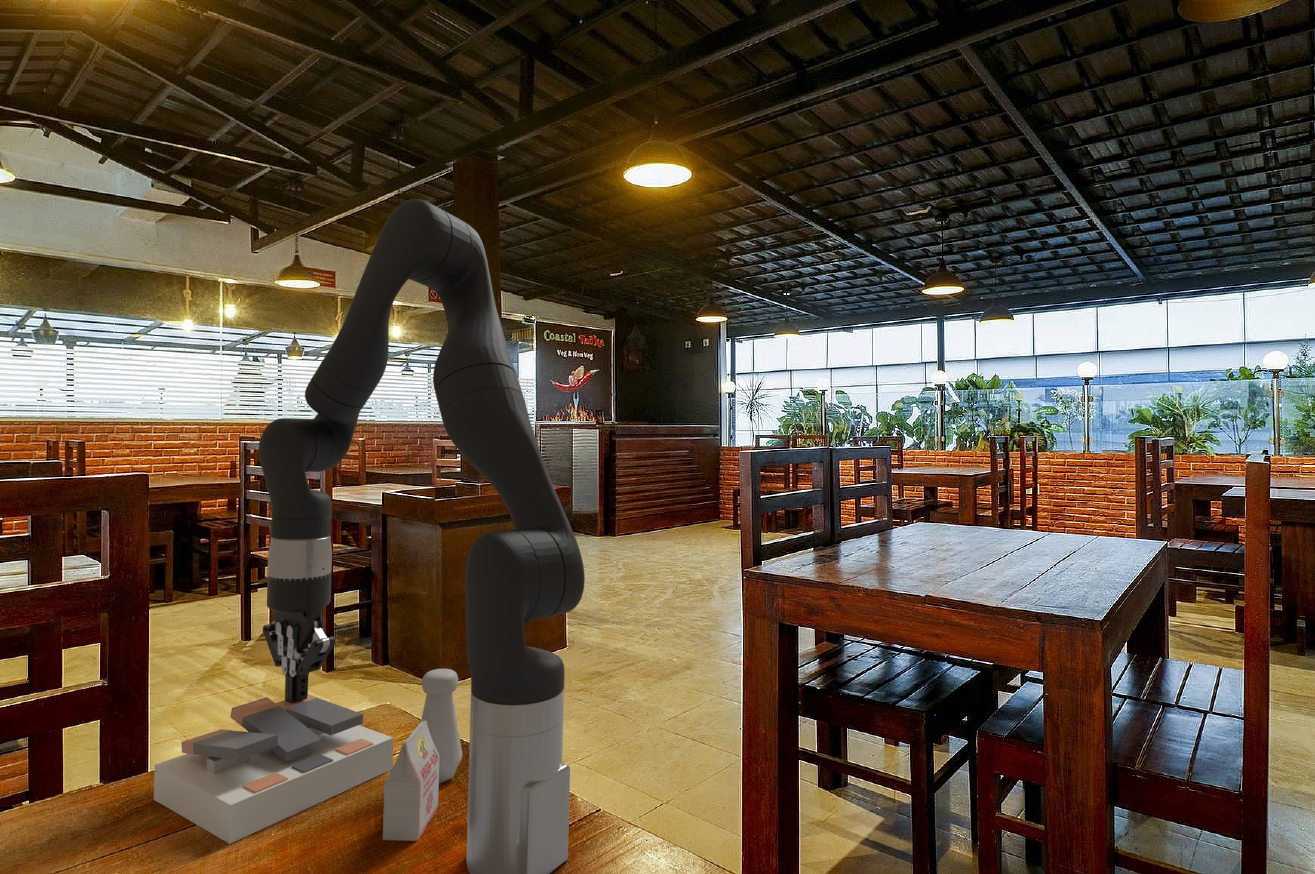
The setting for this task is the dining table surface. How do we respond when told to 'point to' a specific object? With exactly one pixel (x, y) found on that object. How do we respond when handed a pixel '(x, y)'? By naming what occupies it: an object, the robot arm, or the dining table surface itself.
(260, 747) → the switch
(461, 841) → the dining table surface
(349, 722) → the switch
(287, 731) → the switch
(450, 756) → the salt shaker
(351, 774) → the switch box
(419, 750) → the white gabled box
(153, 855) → the dining table surface
